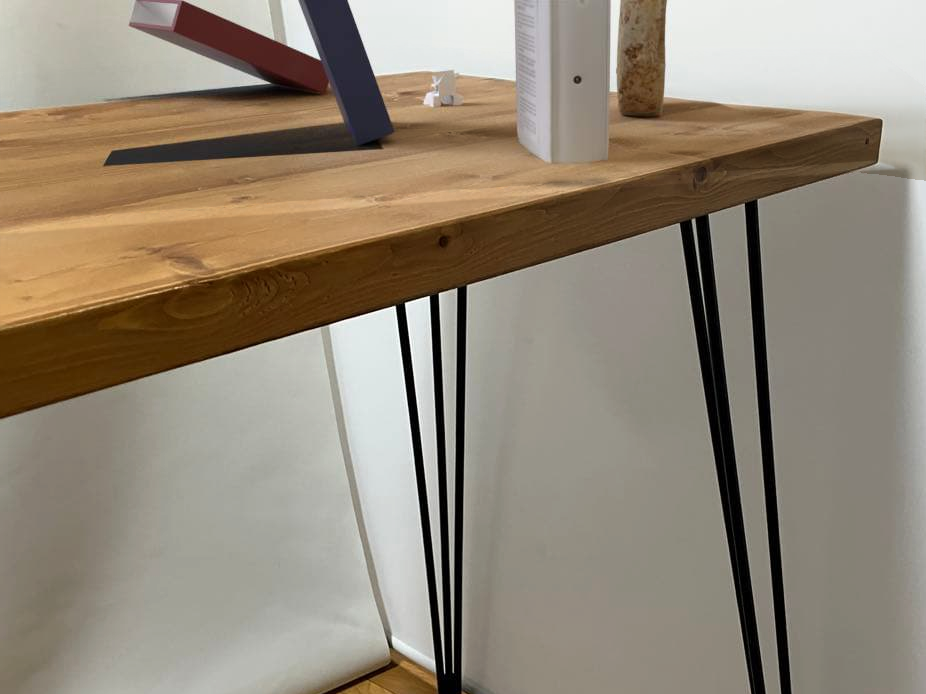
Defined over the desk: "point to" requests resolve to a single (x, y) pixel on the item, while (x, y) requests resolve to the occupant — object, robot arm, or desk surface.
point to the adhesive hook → (444, 90)
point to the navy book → (347, 68)
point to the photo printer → (563, 78)
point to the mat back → (224, 92)
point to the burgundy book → (228, 44)
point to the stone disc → (641, 57)
